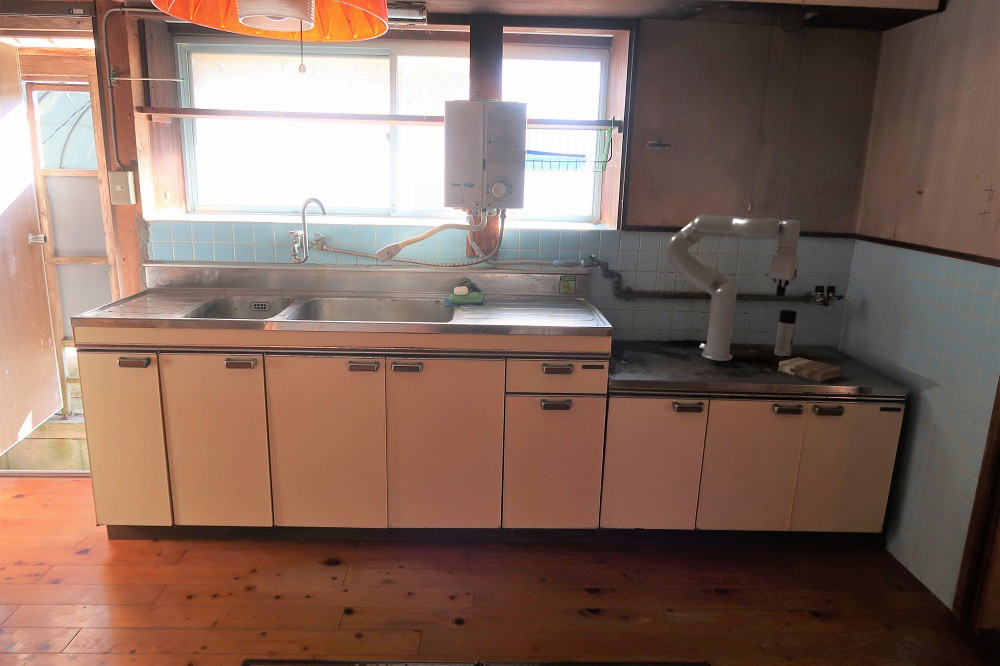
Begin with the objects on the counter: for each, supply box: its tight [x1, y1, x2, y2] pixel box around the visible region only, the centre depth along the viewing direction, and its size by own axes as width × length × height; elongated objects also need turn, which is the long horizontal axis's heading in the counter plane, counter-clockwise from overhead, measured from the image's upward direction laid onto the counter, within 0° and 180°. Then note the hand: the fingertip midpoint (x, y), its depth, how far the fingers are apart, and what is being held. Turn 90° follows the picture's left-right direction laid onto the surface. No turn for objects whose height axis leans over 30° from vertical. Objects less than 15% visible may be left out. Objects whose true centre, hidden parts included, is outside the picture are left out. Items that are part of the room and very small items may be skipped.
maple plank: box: [777, 357, 812, 376], centre depth 265 cm, size 6×14×4 cm, turn 125°
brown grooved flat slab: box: [792, 360, 842, 382], centre depth 258 cm, size 12×14×4 cm
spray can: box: [774, 309, 797, 357], centre depth 285 cm, size 7×7×20 cm
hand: (780, 295), depth 266 cm, fingers closed
